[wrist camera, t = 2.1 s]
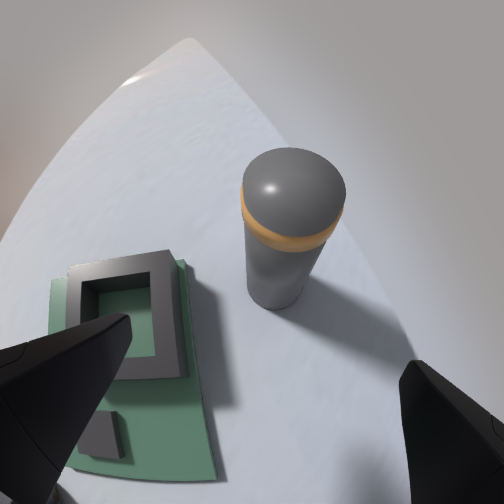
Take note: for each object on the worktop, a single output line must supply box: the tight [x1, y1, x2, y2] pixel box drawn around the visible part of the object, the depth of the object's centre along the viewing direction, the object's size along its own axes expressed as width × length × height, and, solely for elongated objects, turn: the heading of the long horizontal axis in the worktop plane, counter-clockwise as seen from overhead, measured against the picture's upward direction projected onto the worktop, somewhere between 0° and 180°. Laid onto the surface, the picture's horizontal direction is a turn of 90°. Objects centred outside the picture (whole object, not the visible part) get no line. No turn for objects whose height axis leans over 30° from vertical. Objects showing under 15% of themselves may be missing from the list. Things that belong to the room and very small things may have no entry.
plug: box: [241, 148, 346, 310], centre depth 17 cm, size 5×5×12 cm
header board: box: [48, 249, 218, 481], centre depth 17 cm, size 18×14×4 cm
